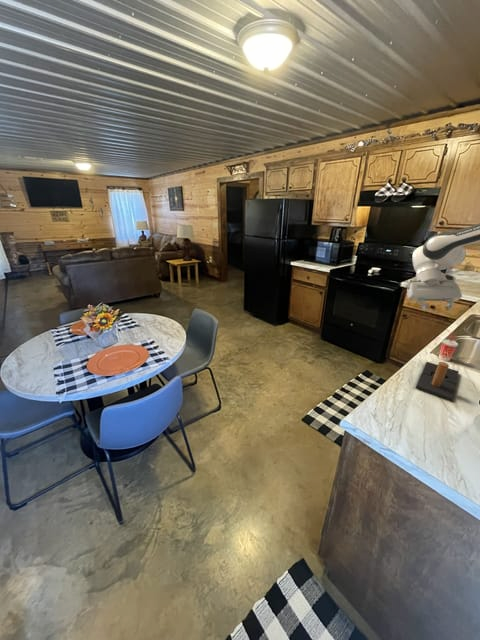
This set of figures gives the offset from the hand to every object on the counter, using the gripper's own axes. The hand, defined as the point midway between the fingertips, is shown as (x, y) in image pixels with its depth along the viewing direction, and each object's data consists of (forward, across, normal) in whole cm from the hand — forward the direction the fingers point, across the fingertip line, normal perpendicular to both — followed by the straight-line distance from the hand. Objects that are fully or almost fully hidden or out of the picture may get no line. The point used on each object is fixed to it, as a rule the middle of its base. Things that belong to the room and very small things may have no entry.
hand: (437, 309), depth 107 cm
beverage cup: (+13, +19, +30) cm, 38 cm away
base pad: (+23, +8, +19) cm, 31 cm away
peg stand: (+29, +1, +13) cm, 32 cm away
